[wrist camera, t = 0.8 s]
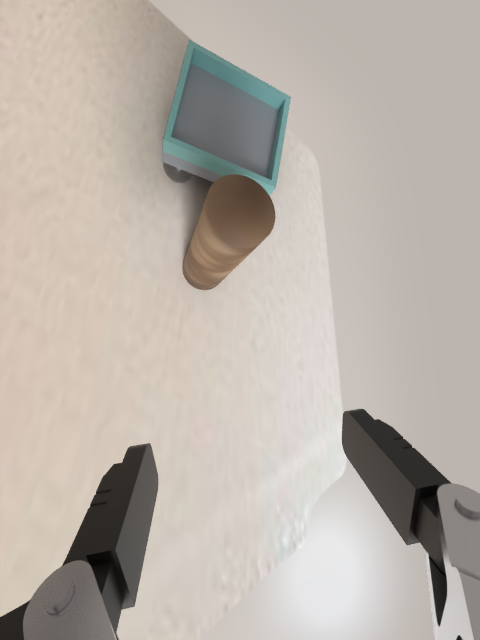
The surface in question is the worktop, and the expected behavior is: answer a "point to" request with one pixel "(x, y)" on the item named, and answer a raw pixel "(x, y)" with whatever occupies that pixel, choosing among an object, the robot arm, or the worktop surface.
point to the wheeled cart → (223, 122)
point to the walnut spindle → (227, 229)
